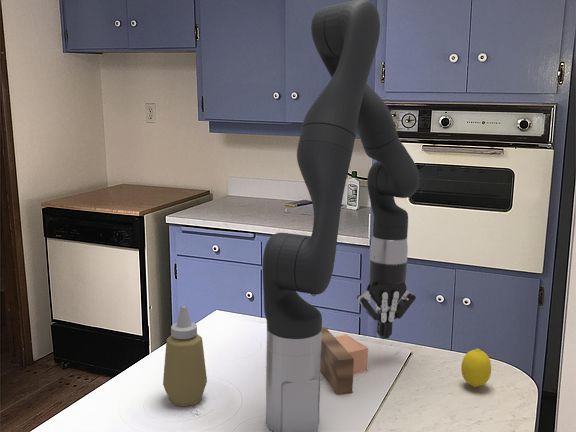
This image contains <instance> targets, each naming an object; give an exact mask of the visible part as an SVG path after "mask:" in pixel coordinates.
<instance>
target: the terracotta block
mask: <svg viewBox="0 0 576 432" xmlns="http://www.w3.org/2000/svg"><path fill="white" fill-rule="evenodd" d="M334 337H335V338H336V339H337V340H338V342H339V343H340V344H341V345H342V346H343V347H344V348H345V349H346V350H347V352H348V353H349V354H350V355H351V356H352V357H353V358H354V365H353V375H354V374H357V373H361V372H366V371H368V366H369V365H368V361H369V360H368V359H369V347H367V346H366V345H365V344H363V343H361V342H359V341H358V340H356V339H354V338H353V337H352V336H350V335H348V334H342V335H341V334H340V335H337V336H336V335H335V336H334Z"/></svg>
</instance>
